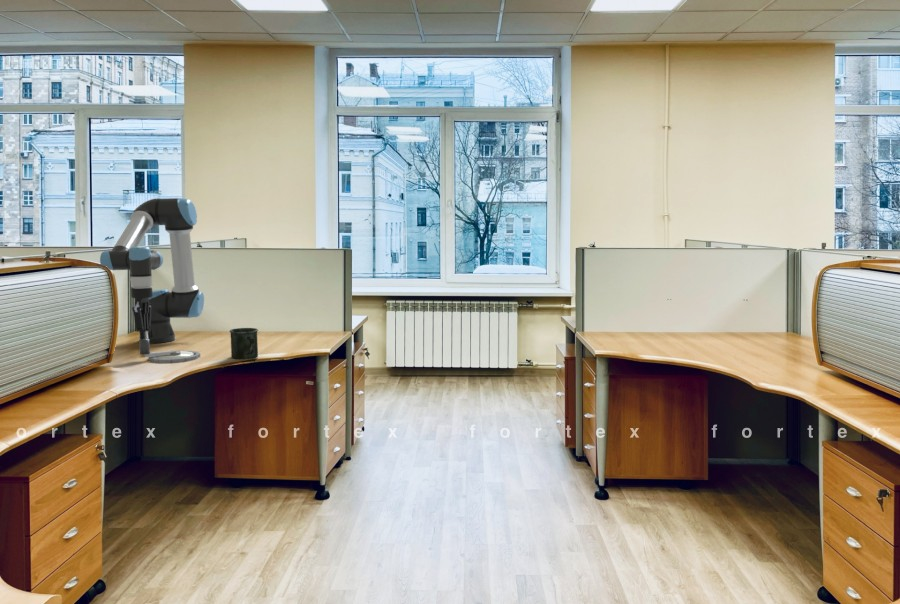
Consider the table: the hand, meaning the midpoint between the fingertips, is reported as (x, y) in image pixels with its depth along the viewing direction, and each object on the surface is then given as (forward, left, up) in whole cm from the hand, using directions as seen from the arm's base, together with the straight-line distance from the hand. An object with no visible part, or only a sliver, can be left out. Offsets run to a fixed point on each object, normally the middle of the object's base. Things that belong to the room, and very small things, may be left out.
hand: (144, 347), depth 275 cm
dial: (+5, +7, -5) cm, 9 cm away
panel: (+5, +10, -6) cm, 12 cm away
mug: (+22, +32, -6) cm, 39 cm away
